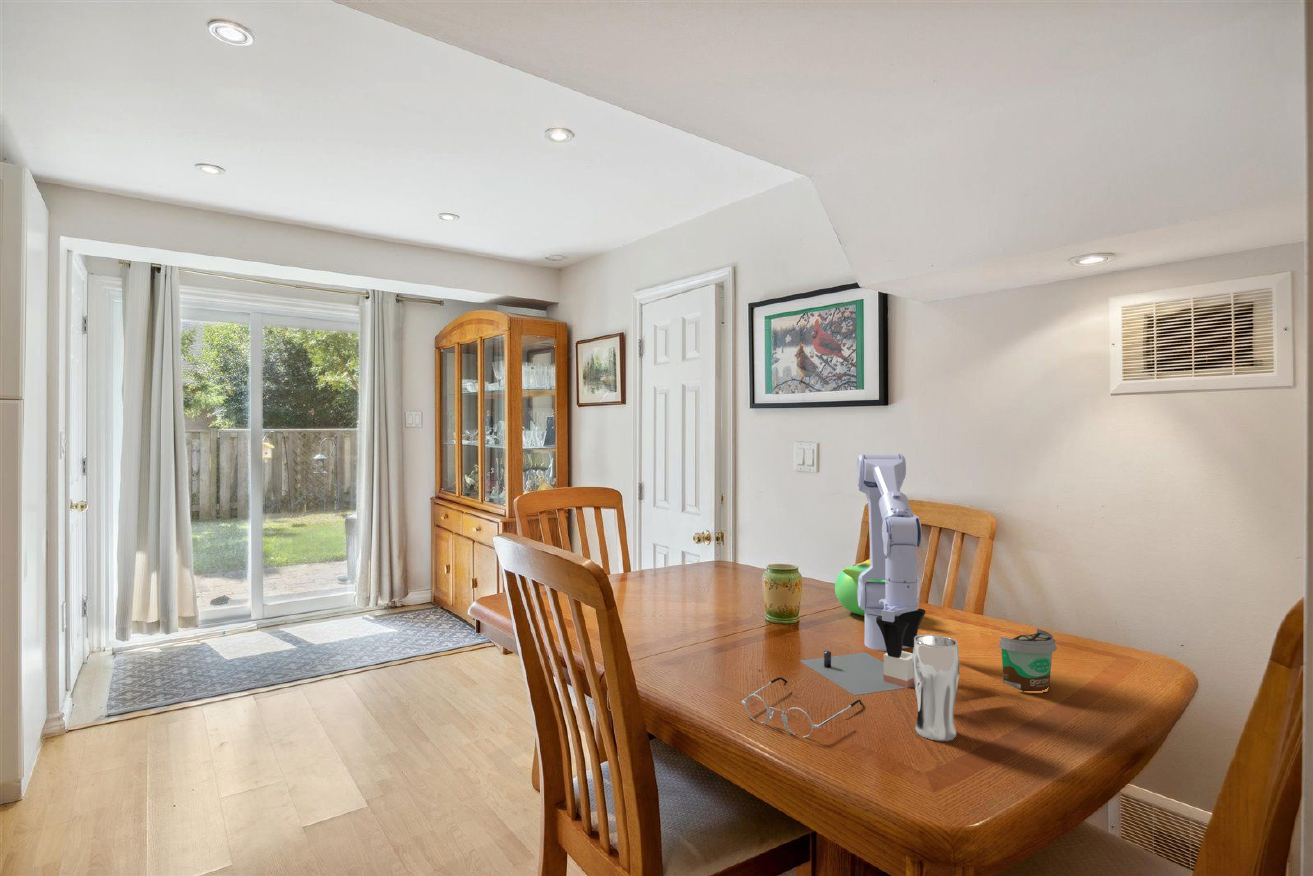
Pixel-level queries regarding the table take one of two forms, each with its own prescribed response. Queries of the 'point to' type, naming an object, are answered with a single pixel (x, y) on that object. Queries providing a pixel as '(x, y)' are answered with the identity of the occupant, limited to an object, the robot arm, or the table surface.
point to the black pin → (827, 659)
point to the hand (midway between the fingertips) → (901, 651)
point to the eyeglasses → (784, 717)
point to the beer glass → (935, 685)
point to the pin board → (855, 673)
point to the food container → (1028, 660)
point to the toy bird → (851, 586)
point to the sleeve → (899, 669)
